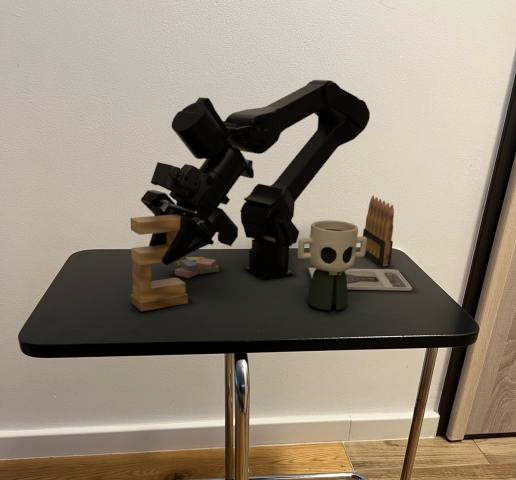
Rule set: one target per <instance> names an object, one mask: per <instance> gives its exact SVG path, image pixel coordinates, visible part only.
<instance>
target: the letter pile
mask: <svg viewBox="0 0 516 480" xmlns="http://www.w3.org/2000/svg"><path fill="white" fill-rule="evenodd" d="M176 265H177V266H180V267H178V268H175V269H174V276H178V277H182V278H187V279H190V278H192V277H195V276H197V275H203V274H210V273H217V272H218V273H219V271H220V267H219V265H218V264H217V259H213V258H206V257H204V256H186V260H178V261H176Z"/></svg>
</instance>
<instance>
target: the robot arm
mask: <svg viewBox="0 0 516 480" xmlns="http://www.w3.org/2000/svg"><path fill="white" fill-rule="evenodd" d="M212 102H213V101H212V100H211V99H210V98H209V97H198V98H197V100H195V102H192V103H190V104H188V105H186V106H185V107H184V108H182V109H181V110H180V111H177V113H176V114H175V115H174V117H173V119H172V121H171V129H172V130H173V132H174V133H175V134H176V135H177V137H178V138H179V139H180V141H181V142H182V143H183V144H184V146H185V147H186V148H187V150H188V151H189V152H190V153H191V155H192V156H193V158H195V159H196V160H204V159H205V160H204V161H203V162H202V164H201V165H200V167H199V168H198V167H196V166H195V165H192V164H187V163H185V164H184V165H183V166H181V167H179V166H175V165H172V164H168V163H164V162H159V161H157V163H156V165H155V168H154V171H153V174H152V176H151V180H150V184H151V185H153V186H158V187H161V188H163V189H165V190H167V191H169V194H167V193H166V192H163V191H159V190H156V189H150V190H147V191H145V193H143V195H142V197H141V198H140V202H141V203H142V204H143V205H144V206H145V207H146V208H147V209H148V210H149V211H150V212H151V213H152V214H153V216H163V215H176V214H177V215H179V216H180V230H179V232H178V233H177V235H176V237H175V238H174V240H173V242H172V243H171V245H170V246H169V248H168V250H167V251H166V253H165V255H164V257H163V259H162V264H163V265H165V266H168V265H170V264H172V263H174V262H177V261H176V260H178V259H180V258H182V257H184V256H185V255H186V256H187V255H190V254H191V253H193V252H195V251H199V250H200V249H202V248H204V247H206V246H208V245H211V246H212V245H214V243H215V241H214V240H213V238H214V237H215V235H216V234H217V241H218V242H219V243H220V244H223V245H225V246H228V247H232V246H233V244H234V243H235V241H236V240H237V239H238V236H239V227H238V226H237V224H235V223H234V221H233V220H232V219H231V218H230V217H229V215H228V214H227V213H226V212H225V211H224V209H223V208H220V207H219V206H220V205H224V206H225V205H228V203H229V202H230V201H231V199H230V198H229V196H227V195H228V194H229V193H230V191H231V189H233V187H234V186H235V184H236V183H237V181H238V180H239V178H240V177H243V178H248V179H254V177H255V171H254V168H253V164H254V161H253V160H251V159H247V158H246V157H245V156H244V154H243V153H242V152H245V153H249V154H257V155H262V154H264V153H266V152H267V151H269V150H270V149H271V148H272V147H273V146H274V145H275V144H276V143H277V142H278V141H279V139H280V137H281V134H282V133H283V132H284V131H285V130H286V129H290V128H291V127H292V126H294V125H296V124H297V123H299V122H301V121H303V120H305V119H306V118H308V117H310V116H312V115H313V114H314V115H315V116H317V126H316V127H317V129H316V130H315V132H314V133H313V134H312V136H310V138H309V139H308V140H307V142H306V143H305V144H304V145H303V147H301V149H300V151H299V152H298V153H297V154H295V156H294V157H293V159H292V160H291V161H290V162H289V164H288V165H287V166H286V167H285V169H284V170H283V171H282V172H281V174H280V175H279V176H278V177H277V179H276V180H274V182H273V183H272V184H271V185H268V184H263V183H258V184H256V185H255V186H254V187H253V189H252V190H251V192H250V193H249V194H248V195H247V196H246V197H243V201H245V202H244V203H243V205H242V206H241V208H240V222H241V225H242V227H243V231H244V235H245V237H246V238H248V239H251V247H250V248H249V254H248V257H249V258H248V266H247V267H246V271H248V272H250V273H251V274H253V275H254V276H256V277H258V278H260V279H261V280H271V279H276V278H284V277H289V276H293V273H294V272H293V271H292V270H290V269H289V261H290V247H292V245H294V244H297V242H298V240H299V239H298V238H299V235H300V230H299V229H298V228H297V226H296V225H295V224H294V222H293V221H292V220H293V219H294V216H295V204H296V202H297V200H298V198H299V197H300V195H302V193H303V192H304V191H305V189H306V188H307V187H308V186H309V184H310V183H311V181H313V179H314V178H315V177H316V175H317V174H318V173H319V172H320V171H321V169H323V167H324V165H325V164H326V163H327V162H328V161H329V159H330V158H331V157H332V155H333V154H334V153H335V151H336V150H337V149H338V148H339V147H341V146H343V145H345V144H347V143H349V142H351V141H353V140H355V139H356V138H358V136H359V135H361V134H362V133H363V131H365V129H366V128H367V126H368V124H369V121H370V117H371V112H370V109H369V107H368V105H367V102H366V101H365V100H363V99H360V98H359V97H358V96H356V95H354V94H353V93H351V92H349V91H347V90H345V89H343V88H341V87H340V85H338V83H336V82H335V81H333V80H329V79H313V80H311V81H309V82H308V83H306V85H303V86H302V87H300V88H297V90H295V91H292V92H290V93H289V94H287V95H285V96H283V97H281V98H280V99H277V100H275V101H273V102H271V103H269V104H267V105H266V106H262V107H256V108H247V109H242V110H239V111H235V112H232V113H230V114H229V115H228V116H227V117H226V119H225V120H223V119H222V118H221V116H220V114H218V111H217V110H216V108H215V106H214V104H213V103H212ZM175 201H176V202H175ZM165 244H167V232H164V233H153V234H151V237H150V240H149V244H148V246H156V245H165Z"/></svg>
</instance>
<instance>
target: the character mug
mask: <svg viewBox="0 0 516 480" xmlns="http://www.w3.org/2000/svg"><path fill="white" fill-rule="evenodd" d="M358 235H359V227H358V226H357V225H356V224H355V223H352V222H347V221H343V220H342V221H341V220H328V219H327V220H318V221H314V222H312V223H311V224H310V233H309V237H301V238H299V239H298V241H297V242H298V243H297V258H298V259H300V260H308V262H309V265H310V266H311V268H316V270H315V271H314V273H313V277H312V279H311V282H310V285H309V290H308V296H307V301H308V303H309V304H310V306H312V307H314V308H316V309H319V310H324V311H331V310H332V309H331V308H332V306H335V310H336V311H338V310H342V309H345V308H346V307H347V305H348V289H347V277H346V274H345V271H346V270H349V269H352V268H353V266H354V264H355V261H356V259H358V258H363V257H366V256H365V252H366V244H367V238H366V237H363V236H358ZM357 244H359V245H360V246H359V251H357ZM305 245H308V246H309V247H308V252H305Z"/></svg>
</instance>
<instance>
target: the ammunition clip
mask: <svg viewBox="0 0 516 480" xmlns="http://www.w3.org/2000/svg"><path fill="white" fill-rule="evenodd" d="M394 218H395V208H394V205H393V204H391V205H390V203H389V202H387V203H386V201H385V200H383V201H382V199H381V198H380V199H378V197H377V196H376V197H375V195H371V198H370V201H369V205H368V210H367V214H366V218H365V226H364V228H363V231H362V237H366V238H367V244H366V252H365V256H364V257H366V258H367V259H369V260H370V261H371V262H372V263H375V264H376V265H377V266H378V267H380V268H390V267H391V261H392V252H393V244H394V241H393V234H394V233H393V232H394Z"/></svg>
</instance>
